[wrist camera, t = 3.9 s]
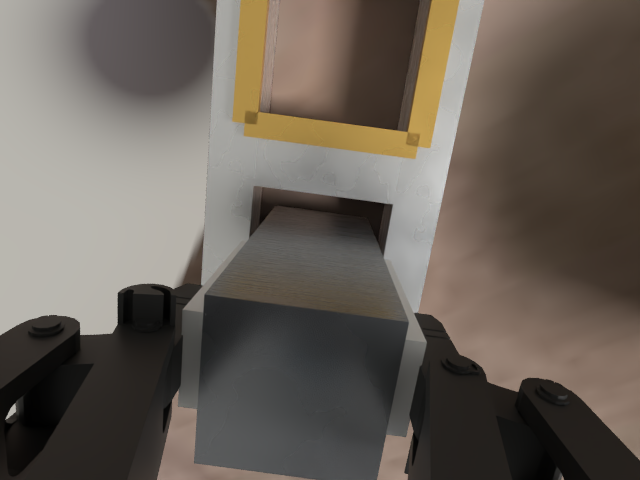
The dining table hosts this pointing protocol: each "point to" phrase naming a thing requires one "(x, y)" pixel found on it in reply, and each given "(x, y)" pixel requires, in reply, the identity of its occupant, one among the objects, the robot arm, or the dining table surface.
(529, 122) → the dining table surface
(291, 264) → the peg
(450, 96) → the grey slotted holder
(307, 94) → the dining table surface
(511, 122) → the dining table surface
